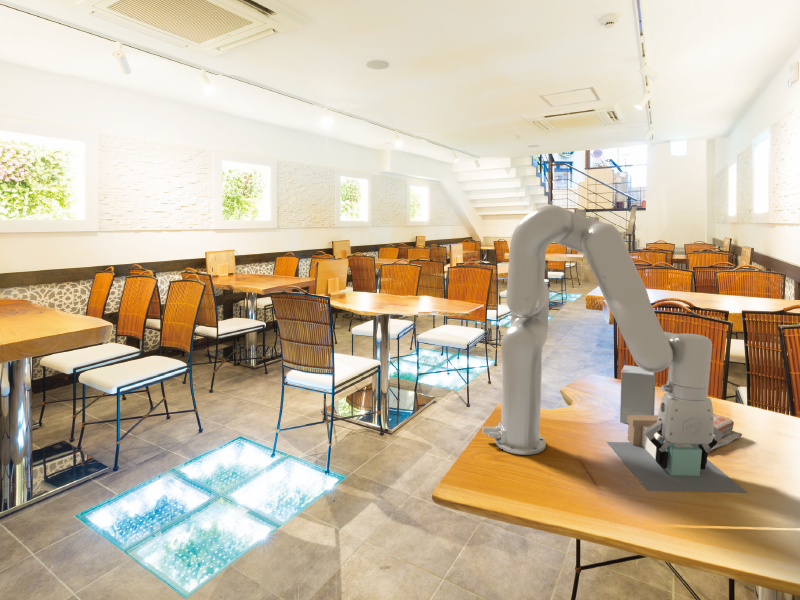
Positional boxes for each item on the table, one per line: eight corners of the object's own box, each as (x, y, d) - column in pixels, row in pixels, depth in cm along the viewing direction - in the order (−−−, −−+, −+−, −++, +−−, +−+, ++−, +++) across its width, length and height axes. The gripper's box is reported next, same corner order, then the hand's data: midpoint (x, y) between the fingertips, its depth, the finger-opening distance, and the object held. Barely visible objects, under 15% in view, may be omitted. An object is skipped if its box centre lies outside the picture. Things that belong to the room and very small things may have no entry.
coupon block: (647, 462, 107) (649, 435, 106) (625, 438, 118) (626, 414, 117) (696, 462, 106) (698, 435, 105) (669, 439, 118) (671, 415, 117)
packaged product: (701, 408, 126) (743, 420, 118) (700, 425, 127) (742, 438, 119) (665, 422, 117) (707, 436, 109) (664, 440, 118) (706, 455, 109)
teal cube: (671, 475, 101) (673, 449, 100) (659, 462, 106) (661, 437, 105) (699, 475, 100) (702, 449, 100) (685, 463, 106) (688, 438, 105)
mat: (647, 492, 95) (647, 490, 95) (606, 443, 117) (606, 441, 117) (747, 494, 94) (747, 492, 94) (687, 444, 116) (687, 443, 116)
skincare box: (653, 421, 130) (658, 367, 127) (651, 431, 124) (656, 374, 121) (620, 415, 134) (624, 363, 132) (617, 424, 128) (621, 369, 126)
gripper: (654, 396, 97) (648, 474, 99) (740, 397, 96) (731, 475, 98) (638, 384, 104) (632, 457, 107) (717, 385, 103) (710, 458, 106)
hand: (680, 465), depth 103 cm, fingers open, 7 cm apart
